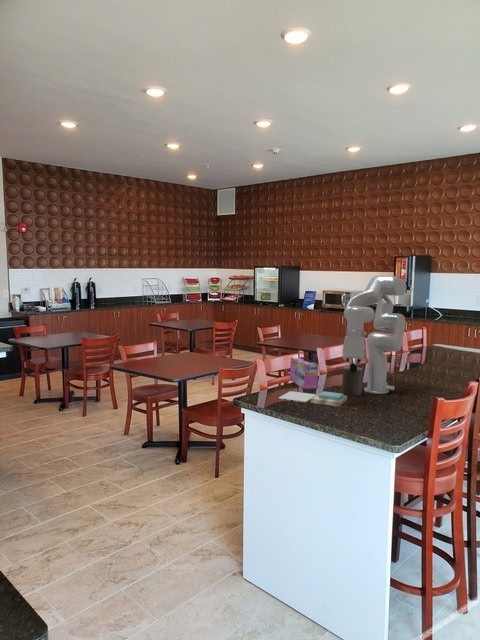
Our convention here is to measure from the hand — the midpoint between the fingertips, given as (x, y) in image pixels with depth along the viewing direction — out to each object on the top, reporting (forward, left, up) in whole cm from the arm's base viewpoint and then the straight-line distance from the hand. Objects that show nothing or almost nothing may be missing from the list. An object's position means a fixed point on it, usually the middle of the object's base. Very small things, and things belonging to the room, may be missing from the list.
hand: (353, 372), depth 227 cm
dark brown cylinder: (+5, -21, -16) cm, 26 cm away
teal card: (+10, -1, -13) cm, 17 cm away
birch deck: (+11, -1, -15) cm, 19 cm away
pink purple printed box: (+35, -30, -16) cm, 49 cm away
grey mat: (+27, -1, -15) cm, 31 cm away
